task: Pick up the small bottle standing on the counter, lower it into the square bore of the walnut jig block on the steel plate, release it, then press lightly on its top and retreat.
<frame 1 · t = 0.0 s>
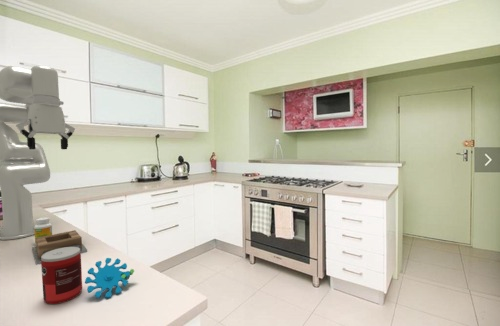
hand: (48, 149, 90), 37 cm above the counter, tool pointing down, fingers open, 9 cm apart
jig plate: (59, 250, 90), on the counter
jig: (59, 250, 90), resting on jig plate
canned food: (63, 296, 62), on the counter
supplement bottle: (44, 243, 99), on the counter
gear: (111, 291, 64), on the counter
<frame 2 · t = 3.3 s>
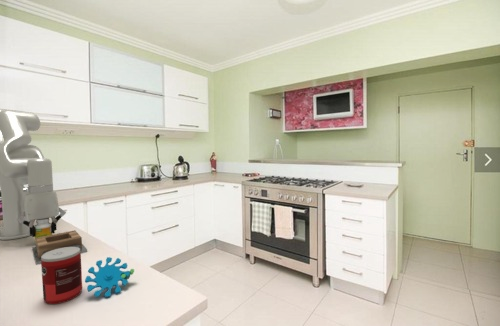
hand: (43, 233, 99), 4 cm above the counter, tool pointing down, fingers closed on supplement bottle, 5 cm apart
supplement bottle: (44, 243, 99), on the counter, touching gripper
everything else where it was.
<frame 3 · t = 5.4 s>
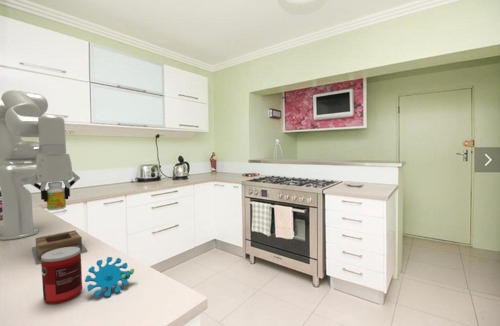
hand: (56, 199, 90), 19 cm above the counter, tool pointing down, fingers closed on supplement bottle, 5 cm apart
supplement bottle: (56, 209, 90), point 15 cm above the counter, touching gripper
everything else where it was.
when the fingers open (6 cm above the counter, at t = 7.6 s): supplement bottle drops 1 cm, resting on jig plate.
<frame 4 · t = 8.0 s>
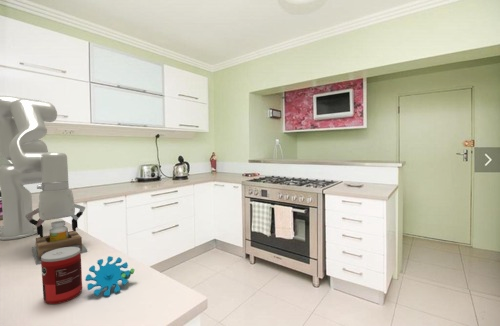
hand: (58, 233, 90), 6 cm above the counter, tool pointing down, fingers open, 9 cm apart
supplement bottle: (59, 248, 91), point 1 cm above the counter, touching jig plate
everything else where it was.
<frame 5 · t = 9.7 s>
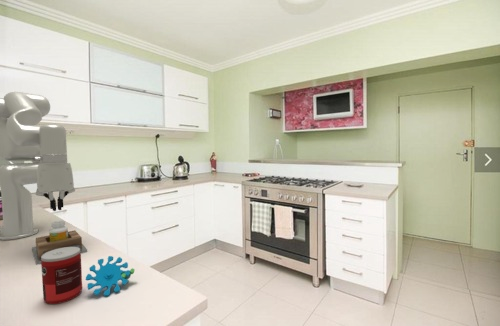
hand: (57, 209, 90), 15 cm above the counter, tool pointing down, fingers closed
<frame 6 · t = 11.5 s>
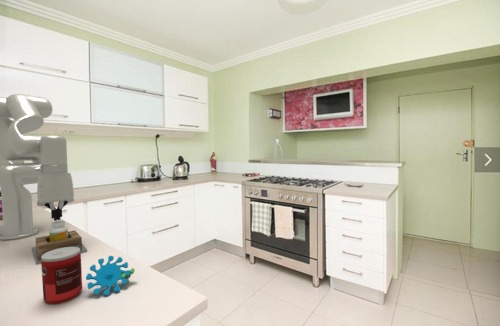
hand: (57, 219, 90), 11 cm above the counter, tool pointing down, fingers closed
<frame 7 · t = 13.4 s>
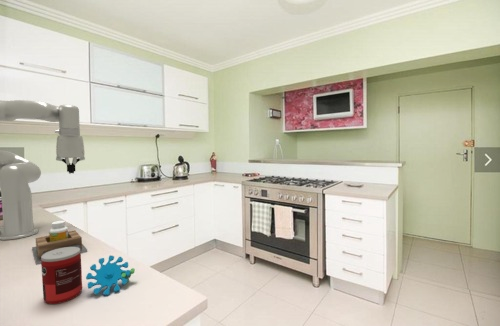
hand: (71, 173, 112), 27 cm above the counter, tool pointing down, fingers closed
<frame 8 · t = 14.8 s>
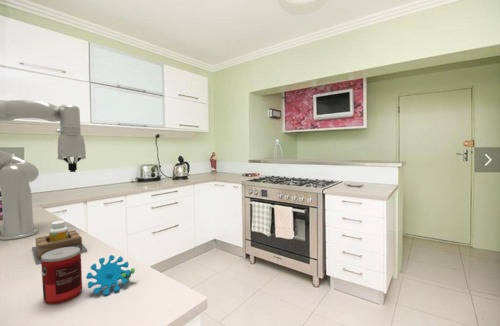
hand: (72, 171, 115), 27 cm above the counter, tool pointing down, fingers closed
at the end: supplement bottle 0.2 cm off-centre on the jig, point 0.6 cm above the jig's base; supplement bottle tilted 0°; the gripper is holding nothing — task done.
